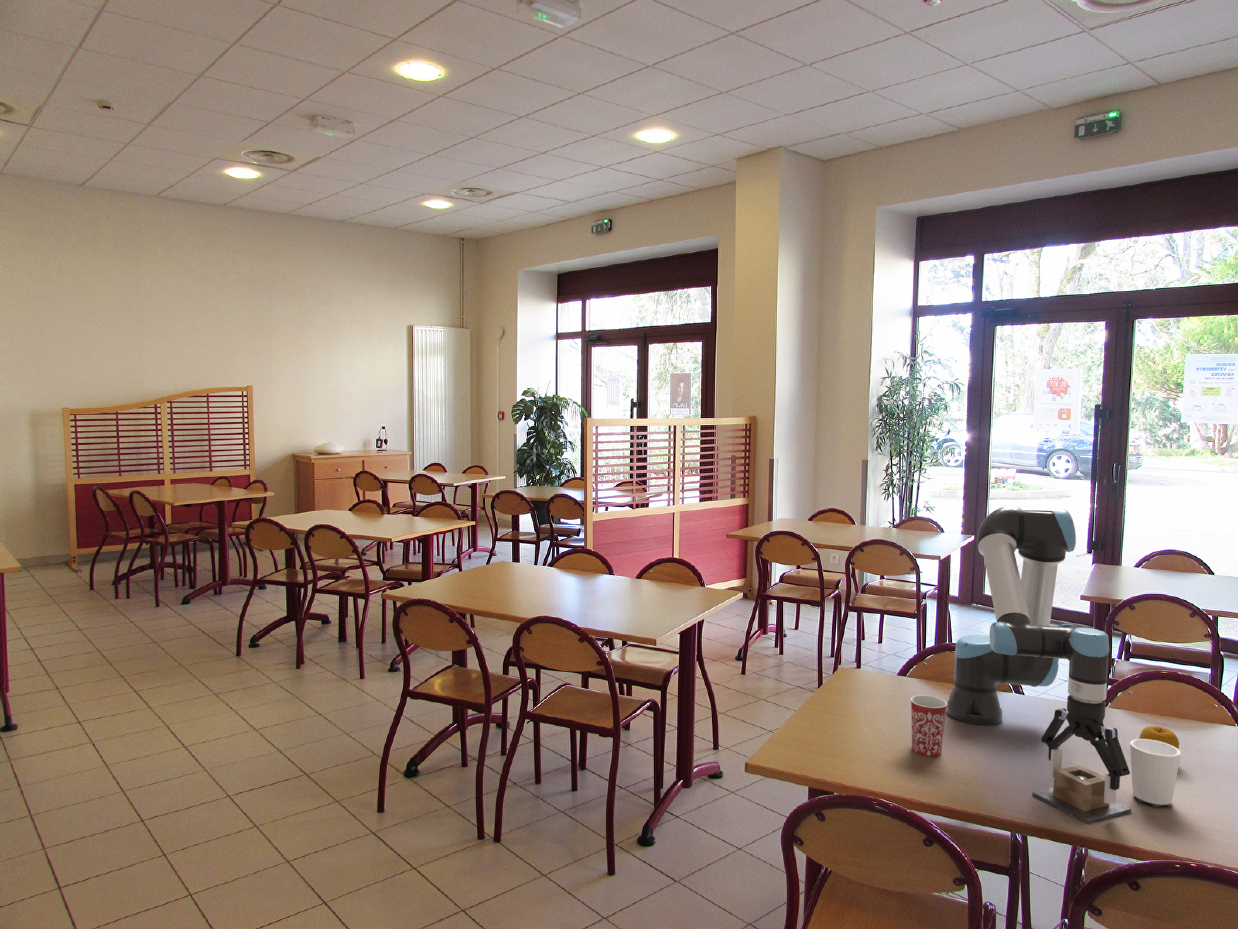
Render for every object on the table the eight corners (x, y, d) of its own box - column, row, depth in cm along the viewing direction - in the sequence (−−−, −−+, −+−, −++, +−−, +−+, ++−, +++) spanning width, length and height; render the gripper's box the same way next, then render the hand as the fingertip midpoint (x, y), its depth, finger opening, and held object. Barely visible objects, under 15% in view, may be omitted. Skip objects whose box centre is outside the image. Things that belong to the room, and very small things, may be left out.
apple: (1141, 764, 207) (1143, 731, 207) (1134, 752, 215) (1136, 719, 215) (1181, 770, 204) (1183, 736, 204) (1172, 757, 212) (1174, 724, 211)
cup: (1170, 795, 191) (1173, 742, 190) (1184, 814, 182) (1187, 759, 181) (1121, 788, 194) (1124, 736, 193) (1132, 806, 185) (1136, 752, 184)
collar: (1053, 795, 188) (1054, 770, 188) (1077, 789, 191) (1078, 765, 191) (1084, 811, 181) (1086, 785, 180) (1109, 805, 184) (1110, 779, 183)
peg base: (1074, 785, 195) (1075, 761, 195) (1131, 812, 182) (1132, 786, 182) (1032, 795, 190) (1033, 770, 189) (1087, 824, 177) (1088, 797, 176)
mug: (947, 760, 208) (949, 708, 208) (910, 756, 211) (912, 705, 210) (940, 741, 221) (942, 692, 220) (905, 737, 223) (907, 689, 222)
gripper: (1027, 682, 194) (1023, 768, 196) (1128, 719, 171) (1122, 817, 173) (1050, 678, 197) (1045, 764, 199) (1152, 714, 174) (1146, 810, 176)
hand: (1081, 789), depth 186 cm, fingers open, 13 cm apart
